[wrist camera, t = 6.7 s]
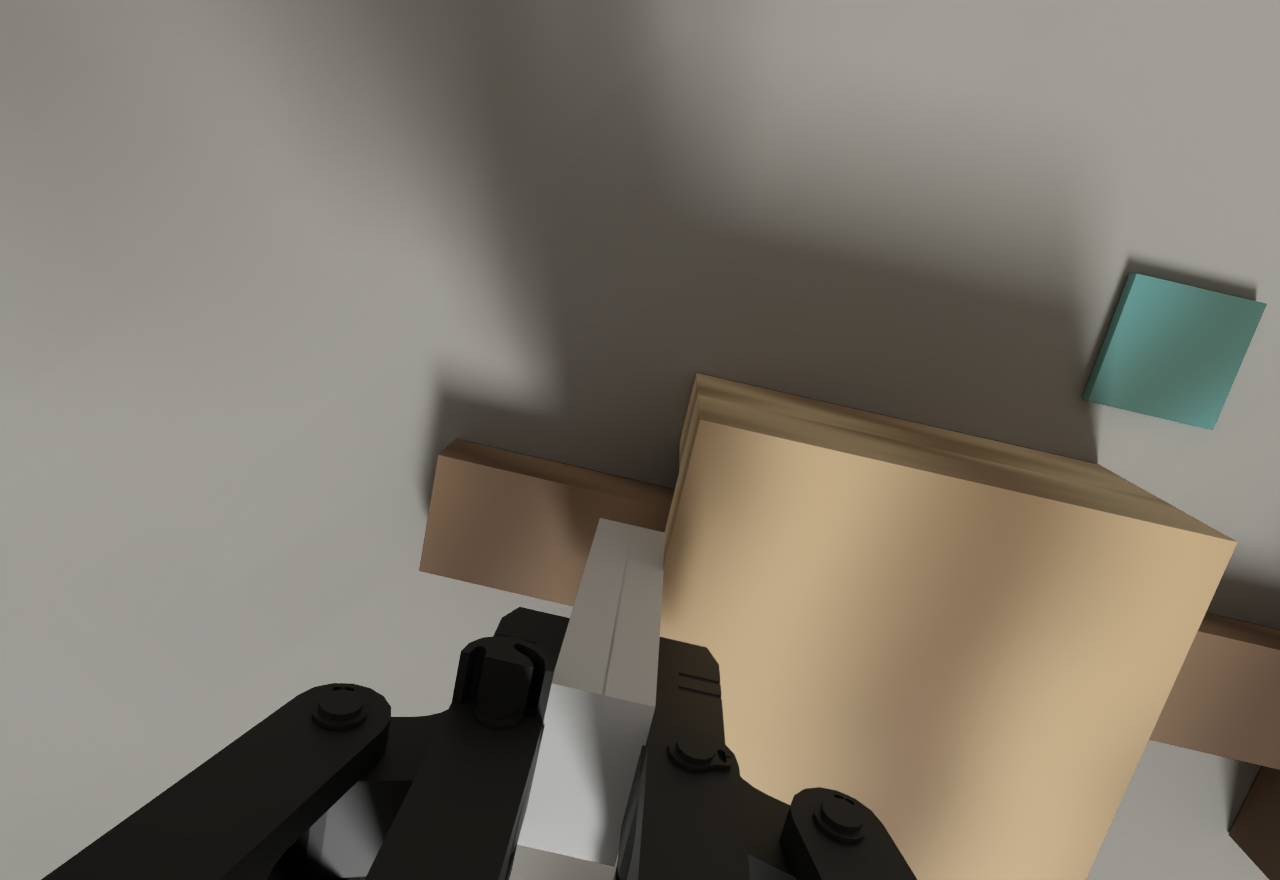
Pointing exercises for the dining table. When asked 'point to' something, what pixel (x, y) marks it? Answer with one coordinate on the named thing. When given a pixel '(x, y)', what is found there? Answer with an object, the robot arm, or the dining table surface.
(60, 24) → the dining table surface
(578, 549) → the wooden block assembly
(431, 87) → the dining table surface
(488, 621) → the dining table surface
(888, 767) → the light wooden box
